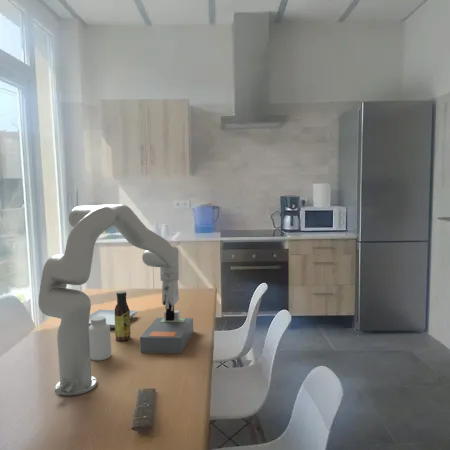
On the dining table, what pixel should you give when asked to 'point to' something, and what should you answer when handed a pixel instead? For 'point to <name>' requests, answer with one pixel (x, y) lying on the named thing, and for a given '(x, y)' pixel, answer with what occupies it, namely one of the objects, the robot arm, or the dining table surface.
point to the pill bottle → (99, 339)
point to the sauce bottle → (122, 317)
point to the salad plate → (108, 316)
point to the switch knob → (176, 316)
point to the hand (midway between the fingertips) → (170, 320)
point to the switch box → (166, 336)
